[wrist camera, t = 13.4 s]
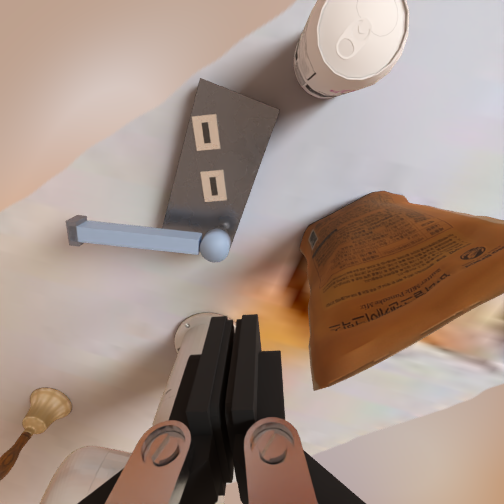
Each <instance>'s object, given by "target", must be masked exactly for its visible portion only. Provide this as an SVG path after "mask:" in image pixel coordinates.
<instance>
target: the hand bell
mask: <svg viewBox="0 0 504 504" xmlns="http://www.w3.org/2000/svg"><path fill="white" fill-rule="evenodd" d="M30 404H31V406H30V409H29V411H28V413H27V415H26V416H25V418H24V419H23V422H22V425H23V427H24V429H25V430H24V431H23V433H22V434H21V436H20V437H19V438H18V440H17V441H16V443H15V444H14V445H13V446H12V447H11V448H10V449H9V450H8V451H7V452H6V453H4V454H3V455H2V456H1V457H0V480H2V479H3V478H4V477H5V476H6V475H7V474H8V472H9V471H10V470H11V468H12V467H13V465H14V464H15V462H16V460H17V458H18V455H19V453H20V451H21V449H22V448H23V447H24V445H25V444H26V443H27V442H28V440H29V439H30V438H31V436H32V435H33V434H40V433H43V432H44V431H45V430H46V429H47V428H48V427H49V426H50V425H51V424H52V423H53V422H54V421H55V420H57V419H60V418H63V417H65V416H67V415H68V414H69V413H70V412H71V409H72V405H71V402H70V400H69V399H68V397H67V396H66V395H64V394H63V393H62V392H60V391H58V390H55V389H52V388H39V389H37V390H35V391H34V392H33V393H32V394H31V397H30Z"/></svg>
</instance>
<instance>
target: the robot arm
mask: <svg viewBox="0 0 504 504" xmlns="http://www.w3.org/2000/svg"><path fill="white" fill-rule="evenodd" d="M174 345H175V349H176V352H177V354H178V355H177V358H176V360H175V363H174V366H173V368H172V371H171V374H170V377H169V379H168V382H167V385H166V387H165V390H164V393H163V396H162V398H161V401H160V404H159V406H158V409H157V412H156V415H155V418H154V421H153V426H152V427H151V428H150V429H149V430H148V431H146V432H145V433H144V434H143V436H142V437H141V439H140V440H139V441H138V443H137V445H136V447H135V449H134V451H133V452H132V453H129V452H124V451H120V450H115V449H109V448H105V447H98V446H86V447H82V448H79V449H77V450H75V451H74V452H72V453H71V454H70V455H69V456H68V457H67V458H66V459H65V460H64V461H63V462H62V464H61V465H60V466H59V468H58V469H57V471H56V473H55V474H54V476H53V478H52V479H51V481H50V483H49V485H48V487H47V489H46V491H45V493H44V495H43V497H42V500H41V502H40V504H224V495H225V488H226V483H232V480H233V470H234V468H235V474H236V480H237V482H238V488H239V493H240V499H241V501H242V503H243V504H366V503H364V502H363V501H362V500H361V499H360V498H359V497H357V496H356V495H355V494H354V493H352V491H350V490H349V489H348V488H347V487H346V486H345V485H343V484H342V483H341V482H340V481H339V480H338V479H336V478H335V477H334V476H333V475H332V474H331V473H329V472H328V471H327V470H326V469H325V468H323V467H322V466H321V465H320V464H319V463H318V462H317V461H315V460H314V459H313V458H312V457H311V456H310V455H309V454H307V453H306V452H305V451H304V450H303V447H302V444H301V440H300V437H299V435H298V432H297V430H296V429H295V428H294V427H293V425H292V424H291V423H289V422H287V421H286V420H285V411H284V396H283V381H282V366H281V352H280V351H261V342H260V332H259V322H258V315H257V314H255V315H243V316H242V319H237V321H236V323H235V322H234V321H233V320H231V319H229V318H227V316H222V315H220V314H215V313H201V314H197V315H193V316H191V317H189V318H187V319H186V320H185V321H184V322H182V324H181V325H180V326H179V328H178V330H177V332H176V335H175V339H174Z"/></svg>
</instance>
